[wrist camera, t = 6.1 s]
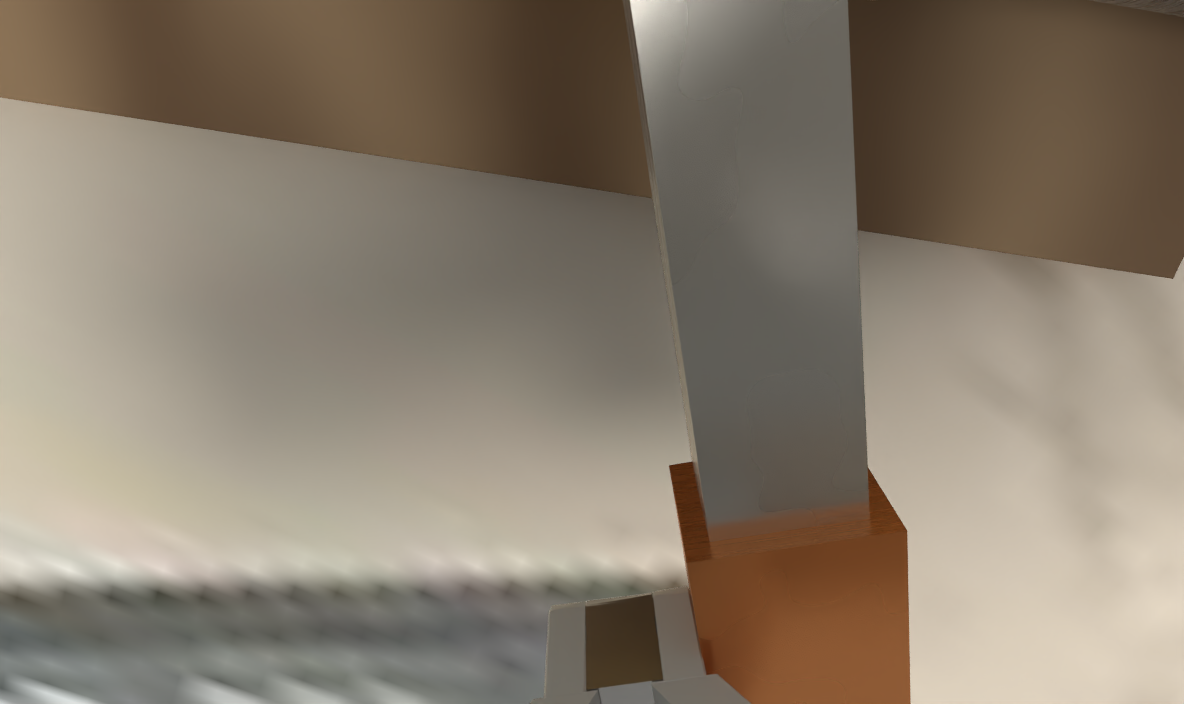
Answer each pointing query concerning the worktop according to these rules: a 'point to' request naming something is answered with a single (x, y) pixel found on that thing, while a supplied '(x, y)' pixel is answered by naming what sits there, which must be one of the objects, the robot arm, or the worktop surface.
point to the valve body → (1151, 5)
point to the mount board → (611, 112)
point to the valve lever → (770, 348)
